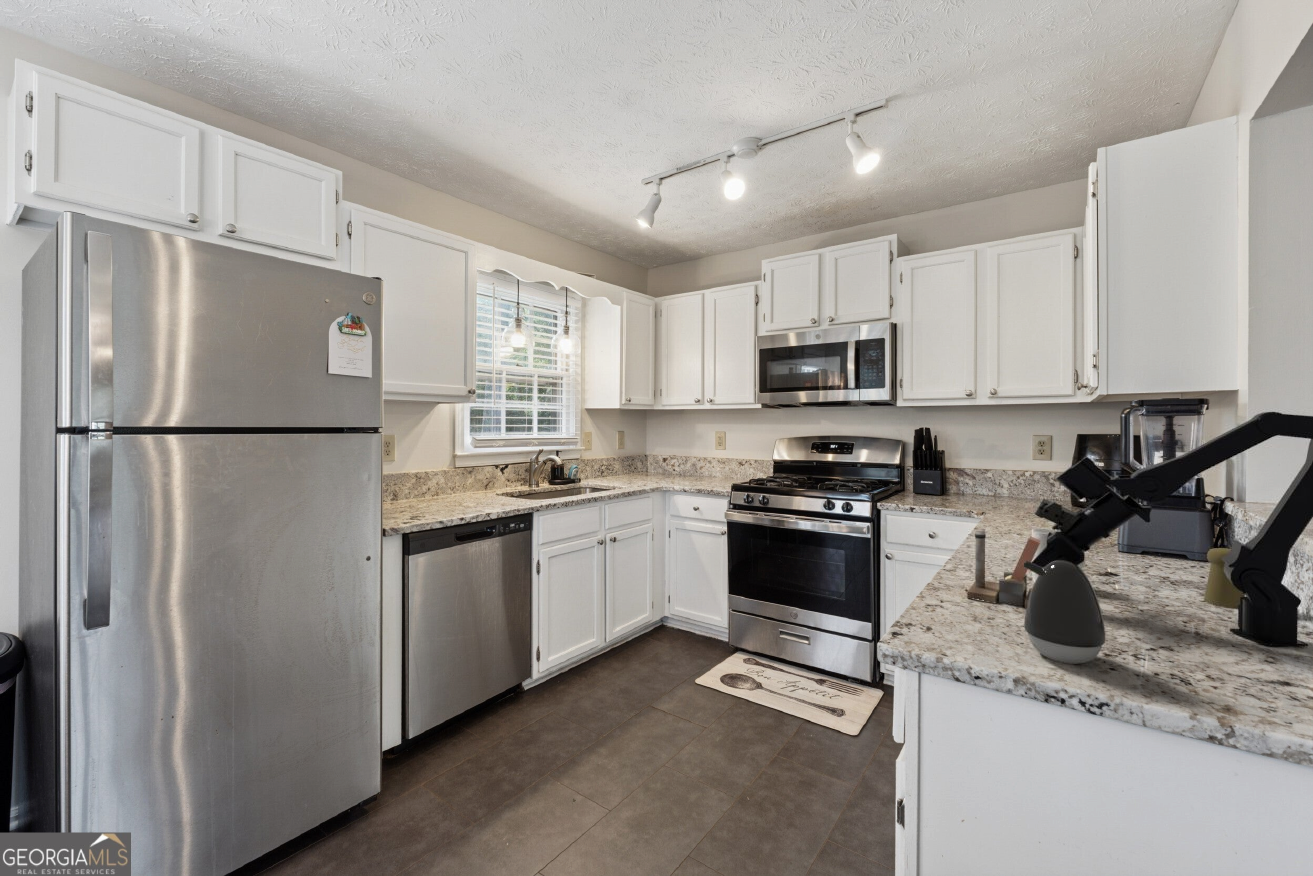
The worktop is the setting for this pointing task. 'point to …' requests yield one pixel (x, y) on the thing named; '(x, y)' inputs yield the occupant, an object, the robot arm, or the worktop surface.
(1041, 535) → the mug
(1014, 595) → the stand
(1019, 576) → the adjuster lever
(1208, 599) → the olive tapered cylinder
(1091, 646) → the pump dispenser
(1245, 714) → the worktop surface
